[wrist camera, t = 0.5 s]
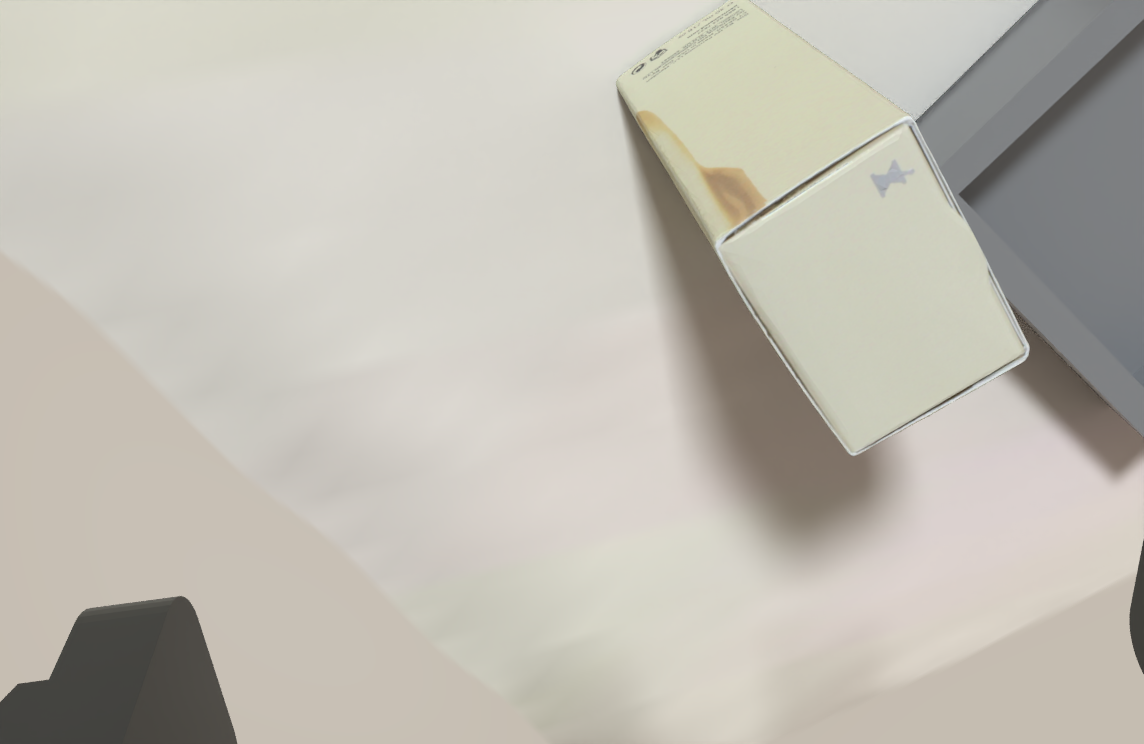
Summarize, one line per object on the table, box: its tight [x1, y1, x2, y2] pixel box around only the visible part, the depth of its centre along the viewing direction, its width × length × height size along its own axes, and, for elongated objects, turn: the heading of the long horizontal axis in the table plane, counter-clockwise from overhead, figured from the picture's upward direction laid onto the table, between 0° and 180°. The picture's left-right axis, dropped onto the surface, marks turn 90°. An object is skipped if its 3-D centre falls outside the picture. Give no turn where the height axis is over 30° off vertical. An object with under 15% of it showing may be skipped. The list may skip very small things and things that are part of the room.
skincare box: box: [616, 0, 1030, 456], centre depth 26 cm, size 6×4×12 cm
